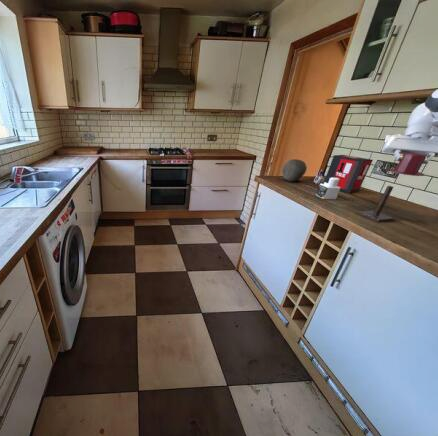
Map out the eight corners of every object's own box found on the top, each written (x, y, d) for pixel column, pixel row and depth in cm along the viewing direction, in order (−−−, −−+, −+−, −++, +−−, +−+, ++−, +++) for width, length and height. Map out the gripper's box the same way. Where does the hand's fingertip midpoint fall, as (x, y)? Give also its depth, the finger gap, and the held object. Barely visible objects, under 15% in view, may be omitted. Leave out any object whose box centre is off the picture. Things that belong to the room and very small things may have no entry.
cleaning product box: (358, 191, 143) (373, 159, 134) (349, 193, 140) (364, 160, 131) (330, 184, 157) (342, 154, 148) (322, 185, 153) (333, 155, 145)
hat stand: (393, 220, 104) (410, 189, 98) (378, 222, 103) (394, 190, 96) (371, 212, 112) (386, 183, 106) (357, 213, 111) (371, 183, 104)
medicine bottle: (315, 195, 135) (322, 175, 130) (327, 195, 135) (335, 175, 129) (323, 199, 128) (331, 178, 123) (335, 199, 128) (344, 179, 123)
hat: (429, 175, 95) (440, 156, 92) (411, 176, 93) (422, 156, 89) (400, 169, 104) (409, 151, 101) (382, 170, 102) (391, 151, 99)
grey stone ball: (301, 185, 153) (309, 162, 146) (278, 181, 160) (284, 159, 153) (302, 180, 164) (309, 159, 157) (280, 177, 170) (286, 156, 164)
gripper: (389, 128, 102) (381, 153, 99) (459, 132, 91) (453, 160, 88) (383, 138, 107) (375, 162, 104) (448, 143, 96) (442, 169, 93)
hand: (411, 161), depth 96 cm, fingers closed on hat, 6 cm apart
